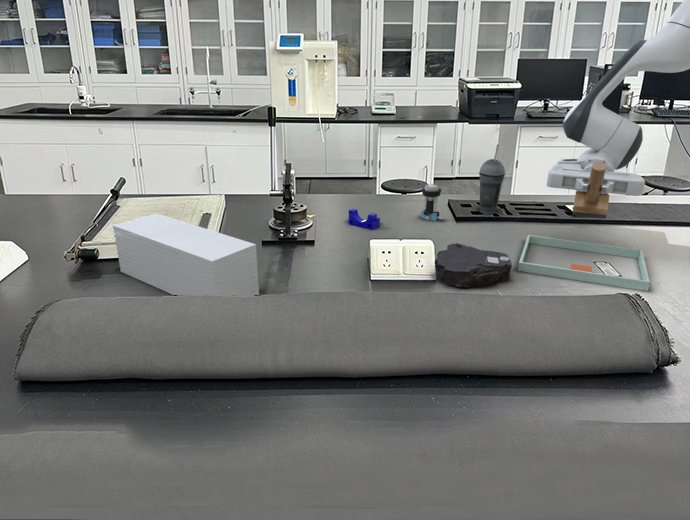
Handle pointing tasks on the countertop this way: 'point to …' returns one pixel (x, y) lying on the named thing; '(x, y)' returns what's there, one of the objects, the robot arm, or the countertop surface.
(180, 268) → the stack of papers
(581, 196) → the brush
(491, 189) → the beverage cup
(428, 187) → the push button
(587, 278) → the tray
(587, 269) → the felt chip
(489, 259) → the rock sample
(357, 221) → the cable holder
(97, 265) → the countertop surface
